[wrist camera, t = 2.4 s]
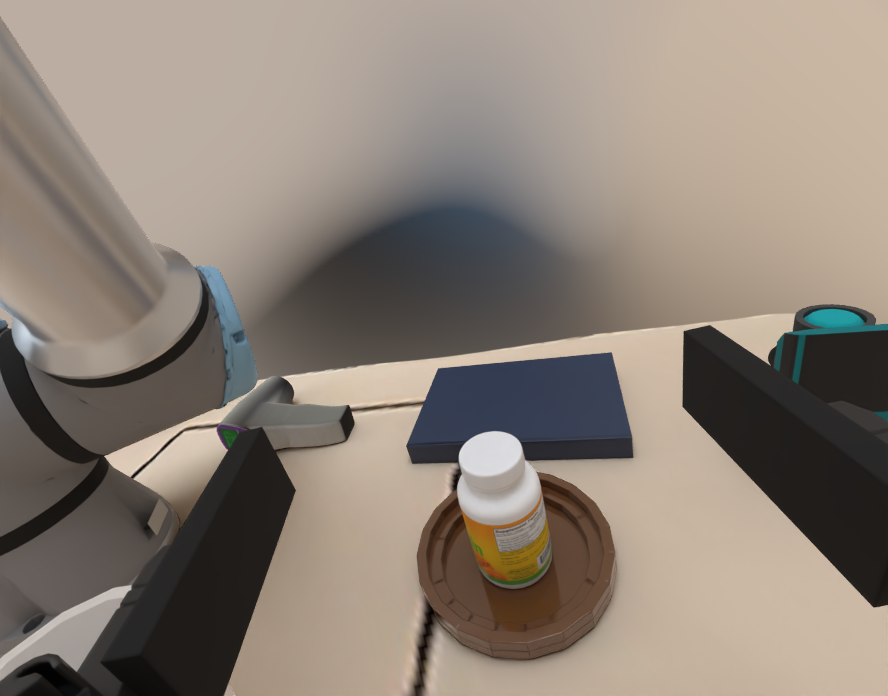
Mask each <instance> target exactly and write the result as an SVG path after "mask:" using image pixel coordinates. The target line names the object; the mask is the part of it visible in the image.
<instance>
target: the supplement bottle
mask: <svg viewBox="0 0 888 696" xmlns="http://www.w3.org/2000/svg"><path fill="white" fill-rule="evenodd" d="M459 464H460V468H461V471H462V475H461V477H460V479H459V482H458V487H457V495H458V500H459V505H460V508H461V511H462V514H463V518H464V521H465V524H466V528H467V531H468V535H469V538H470V541H471V544H472V548H473V551H474V554H475V558H476V561H477V564H478V566H479V569H480V571H481V572H482V573H483V575H484V576H485V577H486V578H487V579H488V580H489V581H490V582H492V583H494V584H495V585H497V586H500V587H503V588H508V589H518V588H524V587H527V586H530V585H532V584H534V583H535V582H537V581H538V580H539V579H540V578H541V577H542V576H543V575H544V574H545V573H546V571H547V570H548V568H549V566H550V563H551V559H552V546H551V540H550V534H549V529H548V523H547V518H546V512H545V507H544V501H543V496H542V490H541V485H540V481H539V477H538V475H537V473H536V471H535V470H534V468H533V467H532V466H531V465H530V464H529V463H528V462H527V461H525V457H524V454H523V449H522V446H521V443H520V442H519V441H518V439H517V438H516V437H514V436H513V435H511V434H508V433H505V432H499V431H492V432H485V433H482V434H479V435H476V436H474V437H473V438H471V439H470V440H468V441H467V442H466V443H465V444H464V445H463V447H462V448H461V450H460V453H459Z"/></svg>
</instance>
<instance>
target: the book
mask: <svg viewBox="0 0 888 696" xmlns="http://www.w3.org/2000/svg"><path fill="white" fill-rule="evenodd" d="M492 431H499V432H505V433H508V434H511V435H513V436H514V437H516V438H517V439H518V441H519V442H520V443H521V446H522V449H523V454H524V457H525V460H556V459H594V458H631V457H633V447H632V435H631V431H630V427H629V422H628V418H627V414H626V410H625V406H624V402H623V398H622V393H621V389H620V385H619V381H618V377H617V373H616V368H615V364H614V360H613V356H612V353H601V354H590V355H579V356H568V357H558V358H547V359H536V360H525V361H514V362H504V363H493V364H482V365H471V366H460V367H450V368H439V369H438V370H437V373H436V375H435V378H434V380H433V382H432V385H431V387H430V390H429V392H428V395H427V397H426V399H425V402H424V404H423V407H422V409H421V412H420V414H419V416H418V419H417V421H416V424H415V426H414V429H413V431H412V434H411V436H410V438H409V441H408V443H407V446H406V447H407V449H408V452H409V455H410V458H411V461H412V463H442V462H459V453H460V450H461V448H462V447H463V445H464V444H465V443H466V442H467V441H468V440H470V439H471V438H473V437H474V436H476V435H479V434H482V433H485V432H492Z"/></svg>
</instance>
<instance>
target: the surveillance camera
mask: <svg viewBox="0 0 888 696" xmlns="http://www.w3.org/2000/svg"><path fill="white" fill-rule="evenodd" d="M875 323H876V318H875V317H874V315H873V314H871V313H869V312H867V311H865V310H862V309H859V308H856V307H851V306H845V305H833V304H831V305H816V306H810V307H806V308H803V309H801V310H799V311H798V312H797V313H796V315H795V319H794V326H793V332H788V333H784V334H783V335H782V337H781V338H780V339H779V340H778V341H777V346H776V347H774V348H773V349H772V350H771V351H770V353H769V356H768V361H769V363H770V365H771V366H772V367H773V368H775V369H776V370H778V371H779V372H781V373H782V374H784V375H785V376H787V377H788V378H790V379H791V380H793V381H794V382H796V383H797V384H799V385H800V386H802V387H803V388H805V389H806V390H808V391H809V392H811V393H812V394H814V395H815V396H817V397H818V398H819V399H821V400H822V401H824V402H825V403H832V402H837V401H841V400H842V401H845V402H847V403H850V404H853V405H855V406H858V407H861V408H864V409H866V410H869V411H872V412H873V413H875V414H877V415H878V416H880V417H881V418H883V419H885V420H886V421H888V324H880V325H875Z"/></svg>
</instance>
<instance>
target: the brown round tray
mask: <svg viewBox="0 0 888 696" xmlns="http://www.w3.org/2000/svg"><path fill="white" fill-rule="evenodd" d="M536 473H537V475H538V477H539V481H540V485H541V490H542V496H543V501H544V507H545V512H546V518H547V523H548V529H549V534H550V540H551V546H552V559H551V563H550V566H549V568H548V570H547V571H546V573H545V574H544V575H543V576H542V577H541V578H540V579H539V580H538V581H537V582H535V583H534V584H532V585H530V586H527V587H524V588H518V589H508V588H503V587H500V586H497V585H495V584H494V583H492V582H490V581H489V580H488V579H487V578H486V577H485V576H484V575H483V573H482V572H481V571H480V569H479V566H478V564H477V561H476V558H475V554H474V551H473V548H472V544H471V541H470V538H469V535H468V531H467V528H466V524H465V521H464V518H463V514H462V511H461V508H460V505H459V500H458V495H457V489H456V490H455V491H454V492H452V493H451V494H450V495H449V496H448V497H447V498H446V499H445V500H444V501H443V502H442V503H441V504H440V505H439V506H438V507H437V508H436V509H435V510H434V512H433V513H432V515H431V517H430V518H429V520H428V522H427V524H426V525H425V527H424V529H423V531H422V535H421V540H420V544H419V548H418V552H417V563H418V572H419V581H420V584H421V587H422V589H423V592H424V594H425V597H426V599H427V601H428V603H429V605H430V607H431V609H432V611H433V613H434V615H435V617H436V619H437V621H438V622H439V623H440V624H441V625H442V626H443V627H444V628H445V629H447V630H448V631H449V632H450V633H451V634H452V635H453V636H454V637H455V638H456V639H457V640H458V641H459V642H461V643H462V644H463V645H466V646H468V647H471V648H473V649H475V650H478V651H480V652H483V653H485V654H487V655H490V656H492V657H500V658H521V659H530V658H531V659H532V658H536V657H539V656H542V655H545V654H549V653H552V652H555V651H558V650H562V649H565V648H567V647H568V646H570V645H571V644H572V643H573V642H575V641H576V640H577V639H579V638H580V637H581V636H583V635H584V634H585V633H587V632H588V631H589V630H590V629H592V628H593V627H594V626H595V624H596V623H597V621H598V619H599V618H600V616H601V615H602V613H603V611H604V610H605V608H606V606H607V605H608V603H609V601H610V600H611V597H612V591H613V586H614V580H615V574H616V557H615V550H614V545H613V540H612V535H611V530H610V526H609V524H608V522H607V521H606V519H605V517H604V516H603V514H602V513H601V511H600V509H599V508H598V506H597V505H596V503H595V502H594V501H593V500H591V499H590V498H589V497H588V496H587V495H586V494H584V493H583V492H582V491H581V490H580V489H578V488H577V487H576V486H574V485H573V484H570V483H568V482H566V481H564V480H562V479H559V478H557V477H555V476H553V475H550V474H544V473H538V472H536Z"/></svg>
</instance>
